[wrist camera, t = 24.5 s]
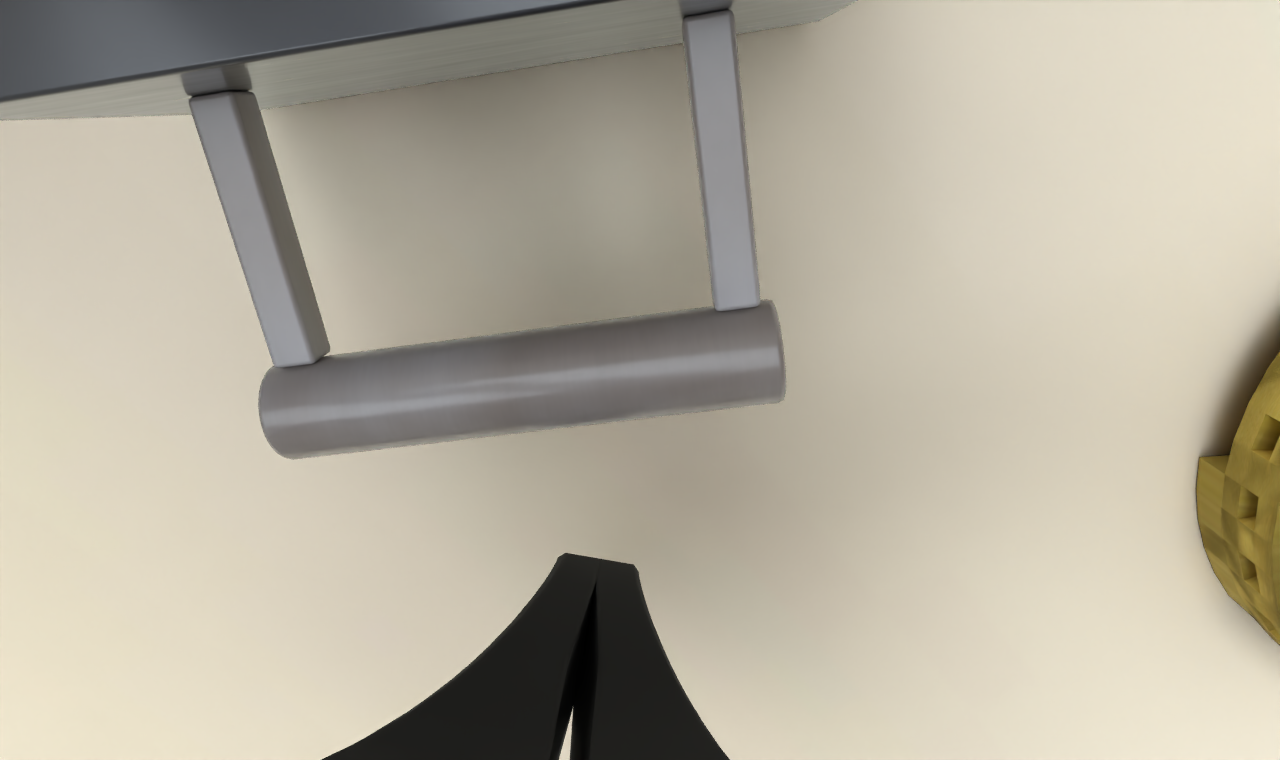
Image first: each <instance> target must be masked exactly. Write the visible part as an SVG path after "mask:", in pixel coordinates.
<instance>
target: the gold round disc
mask: <svg viewBox="0 0 1280 760" xmlns="http://www.w3.org/2000/svg"><path fill="white" fill-rule="evenodd" d="M1196 490H1197V510H1198V521H1199V526H1200V530H1201V535H1202V540H1203V544H1204V548H1205V550H1206V553H1207V555H1208V558H1209V560H1210V563H1211V565H1212V568H1213V570H1214V573H1215V574H1216V576H1217V577H1218V579H1219V581H1220V582H1221V584H1222V585H1223V587H1224V589H1225V590H1226V592H1227V594H1228V595H1229V596H1230V597H1231V598H1232V599H1233V600H1235V601H1236V602H1237V603H1238V604H1239V605H1240V606H1241V607H1242V608H1243V609H1245V610H1246V611H1247V612H1248V613H1249V614H1250V615H1251V616H1252V617H1253V618H1254V619H1255V620H1256V621H1257V622H1258V623H1259V624H1260V625H1261V627H1262V628H1263V629H1264V630H1265V631H1266V632H1267V633H1268V635H1269V636H1270V637H1271V638H1272V639H1273V640H1274V641H1275V642H1277V643H1278V644H1279V645H1280V352H1279V353H1278V354H1277V356H1276V357H1275V359H1274V360H1273V362H1272V363H1271V364H1270V366H1269V367H1268V369H1267V371H1266V372H1265V374H1264V376H1263V378H1262V380H1261V381H1260V383H1259V385H1258V387H1257V389H1256V391H1255V392H1254V394H1253V396H1252V398H1251V400H1250V402H1249V403H1248V405H1247V408H1246V410H1245V413H1244V415H1243V418H1242V420H1241V423H1240V425H1239V428H1238V430H1237V433H1236V435H1235V438H1234V440H1233V444H1232V448H1231V452H1230V455H1224V456H1209V457H1200V459H1199V468H1198V478H1197V488H1196Z"/></svg>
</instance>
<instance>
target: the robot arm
mask: <svg viewBox="0 0 1280 760" xmlns="http://www.w3.org/2000/svg"><path fill="white" fill-rule="evenodd" d="M572 709H573V720H572V735H571V750H570V760H730V759H729V758H728V757H727V756H726V754H725V753H724V752H723V751H722V749H721V748H720V747H719V745H718V744H717V742H716V741H715V739H714V738H713V736H712V735H711V733H710V732H709V731H708V729H707V728H706V726H705V725H704V723H703V722H702V720H701V718H700V717H699V715H698V713H697V712H696V710H695V709H694V707H693V705H692V704H691V702H690V700H689V698H688V697H687V695H686V693H685V691H684V690H683V688H682V686H681V684H680V682H679V680H678V678H677V676H676V674H675V672H674V670H673V668H672V666H671V664H670V662H669V660H668V658H667V655H666V653H665V651H664V649H663V646H662V644H661V642H660V639H659V637H658V634H657V632H656V629H655V627H654V625H653V622H652V619H651V616H650V614H649V611H648V607H647V604H646V601H645V598H644V595H643V591H642V587H641V583H640V579H639V572H638V570H637V569H636V567H635V566H634V565H633V564H627V563H621V562H616V561H610V560H604V559H598V558H592V557H587V556H581V555H575V554H569V553H564V554H563V555H561V556H560V557H558V559H557V561H556V563H555V565H554V567H553V569H552V570H551V572H550V574H549V575H548V577H547V578H546V580H545V581H544V583H543V584H542V585H541V587H540V588H539V589H538V591H537V592H536V594H535V595H534V596H533V597H532V599H531V600H530V601H529V602H528V604H527V605H526V606H525V607H524V608H523V610H522V611H521V612H520V613H519V614H518V616H517V617H516V618H515V619H514V620H513V621H512V623H511V624H510V625H509V626H508V627H507V628H506V629H505V630H504V631H503V632H502V633H501V634H500V635H499V636H498V637H497V638H496V639H495V640H494V641H493V642H492V644H491V645H490V646H489V647H488V648H487V649H486V650H484V651H483V652H482V653H481V654H480V655H479V656H478V657H477V658H476V659H475V660H474V661H473V662H472V663H470V664H469V665H468V666H467V667H466V668H465V669H463V670H462V671H461V672H460V673H459V674H458V675H456V676H455V677H454V678H453V679H452V680H450V681H449V682H448V683H447V684H445V685H444V686H443V687H441V688H440V689H439V690H437V691H436V692H435V693H433V694H432V695H431V696H429V697H428V698H427V699H425V700H424V701H423V702H421V703H420V704H418V705H417V706H415V707H414V708H413V709H411V710H410V711H408V712H407V713H405V714H403V715H402V716H400V717H399V718H397V719H395V720H394V721H392V722H390V723H389V724H387V725H385V726H384V727H382V728H380V729H379V730H377V731H376V732H374V733H372V734H371V735H369V736H367V737H366V738H364V739H362V740H360V741H359V742H357V743H355V744H353V745H351V746H349V747H347V748H345V749H343V750H341V751H339V752H336V753H334V754H332V755H330V756H328V757H326V758H324V759H322V760H559V756H560V753H561V749H562V745H563V742H564V738H565V734H566V731H567V727H568V723H569V720H570V716H571V712H572Z"/></svg>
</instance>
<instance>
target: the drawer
mask: <svg viewBox="0 0 1280 760" xmlns="http://www.w3.org/2000/svg"><path fill="white" fill-rule="evenodd" d="M856 1H858V0H0V121H4V120H36V119H68V118H100V117H133V116H165V115H192V116H193V119H194V122H195V125H196V128H197V131H198V134H199V137H200V140H201V143H202V146H203V150H204V153H205V156H206V159H207V162H208V165H209V168H210V171H211V174H212V177H213V180H214V183H215V186H216V189H217V193H218V196H219V199H220V202H221V205H222V208H223V211H224V214H225V217H226V220H227V223H228V226H229V229H230V232H231V235H232V239H233V242H234V245H235V248H236V251H237V254H238V257H239V260H240V263H241V266H242V269H243V272H244V275H245V278H246V281H247V285H248V288H249V291H250V294H251V297H252V300H253V303H254V306H255V309H256V312H257V315H258V318H259V321H260V324H261V327H262V331H263V334H264V337H265V340H266V343H267V346H268V349H269V352H270V355H271V358H272V361H273V364H274V366H272V367H271V368H270V369H269V370H268V371H267V372H266V374H265V376H264V378H263V380H262V383H261V386H260V391H259V403H258V405H259V416H260V421H261V425H262V429H263V432H264V434H265V437H266V439H267V441H268V442H269V444H270V446H271V447H272V448H273V449H274V450H275V451H276V452H277V453H278V454H279V455H281V456H283V457H285V458H289V459H303V458H311V457H320V456H328V455H337V454H345V453H354V452H362V451H371V450H380V449H388V448H397V447H405V446H414V445H422V444H431V443H439V442H448V441H457V440H465V439H474V438H482V437H491V436H499V435H508V434H516V433H525V432H534V431H542V430H551V429H559V428H568V427H576V426H585V425H593V424H602V423H610V422H619V421H628V420H636V419H645V418H653V417H662V416H670V415H679V414H687V413H696V412H705V411H713V410H722V409H730V408H739V407H747V406H756V405H764V404H773V403H779V402H781V401H783V400H784V398H785V394H786V368H785V357H784V348H783V341H782V334H781V328H780V323H779V318H778V314H777V310H776V307H775V305H774V304H773V302H772V301H771V300H767V299H764V300H761V298H760V287H759V277H758V266H757V255H756V244H755V233H754V222H753V211H752V201H751V190H750V179H749V168H748V157H747V146H746V135H745V124H744V114H743V103H742V92H741V81H740V70H739V59H738V48H737V37H736V34H742V33H748V32H754V31H760V30H767V29H773V28H779V27H785V26H792V25H798V24H804V23H811V22H817V21H820V20H822V19H824V18H826V17H828V16H830V15H832V14H833V13H835V12H837V11H839V10H841V9H843V8H845V7H846V6H848V5H850V4H852V3H854V2H856ZM679 43H683V45H684V54H685V62H686V71H687V80H688V89H689V98H690V106H691V115H692V124H693V133H694V141H695V150H696V159H697V168H698V176H699V185H700V194H701V203H702V211H703V220H704V229H705V238H706V247H707V255H708V264H709V273H710V282H711V290H712V299H713V304H714V306H710V307H702V308H695V309H687V310H679V311H671V312H663V313H656V314H648V315H640V316H632V317H625V318H617V319H609V320H601V321H594V322H586V323H578V324H570V325H563V326H555V327H547V328H539V329H532V330H524V331H516V332H508V333H501V334H493V335H485V336H477V337H469V338H462V339H454V340H446V341H438V342H431V343H423V344H415V345H407V346H400V347H392V348H384V349H376V350H369V351H361V352H353V353H345V354H338V355H330V356H324V355H326V354H327V353H328V352H330V345H329V341H328V338H327V335H326V331H325V328H324V324H323V321H322V318H321V314H320V311H319V308H318V304H317V301H316V298H315V294H314V291H313V287H312V284H311V281H310V277H309V274H308V271H307V267H306V264H305V260H304V257H303V254H302V250H301V247H300V244H299V240H298V237H297V233H296V230H295V227H294V223H293V220H292V217H291V213H290V210H289V206H288V203H287V200H286V196H285V193H284V190H283V186H282V183H281V180H280V176H279V173H278V169H277V166H276V163H275V159H274V156H273V153H272V149H271V146H270V142H269V139H268V136H267V132H266V129H265V126H264V122H263V119H262V115H261V112H260V110H265V109H271V108H278V107H284V106H290V105H297V104H303V103H309V102H315V101H322V100H328V99H334V98H340V97H347V96H353V95H359V94H365V93H372V92H378V91H384V90H391V89H397V88H403V87H409V86H416V85H422V84H428V83H434V82H441V81H447V80H453V79H460V78H466V77H472V76H478V75H485V74H491V73H497V72H503V71H510V70H516V69H522V68H528V67H535V66H541V65H547V64H554V63H560V62H566V61H572V60H579V59H585V58H591V57H597V56H604V55H610V54H616V53H622V52H629V51H635V50H641V49H648V48H654V47H660V46H666V45H673V44H679Z"/></svg>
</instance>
